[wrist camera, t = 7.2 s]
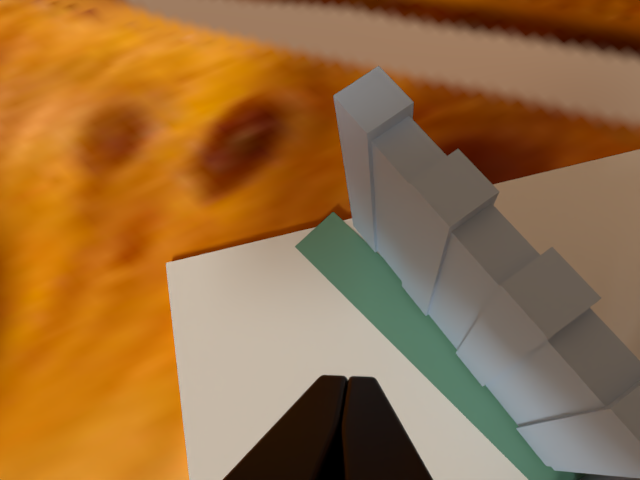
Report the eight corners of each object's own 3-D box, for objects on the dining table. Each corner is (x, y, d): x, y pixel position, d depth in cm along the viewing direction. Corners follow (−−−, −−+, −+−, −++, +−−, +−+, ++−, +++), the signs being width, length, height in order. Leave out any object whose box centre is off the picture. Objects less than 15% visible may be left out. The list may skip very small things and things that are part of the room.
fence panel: (584, 446, 15) (736, 439, 9) (551, 472, 15) (678, 486, 8) (382, 205, 19) (378, 65, 12) (353, 225, 18) (333, 95, 12)
